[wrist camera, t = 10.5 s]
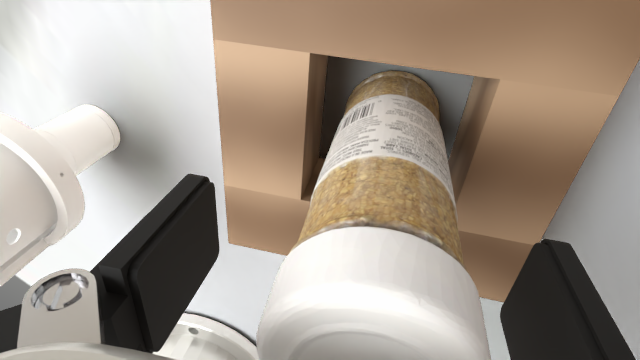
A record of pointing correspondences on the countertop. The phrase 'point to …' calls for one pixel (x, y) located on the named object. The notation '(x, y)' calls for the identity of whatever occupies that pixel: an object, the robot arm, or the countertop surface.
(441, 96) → the countertop surface
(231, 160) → the walnut socket block
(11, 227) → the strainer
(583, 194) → the countertop surface
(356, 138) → the sprinkles bottle
